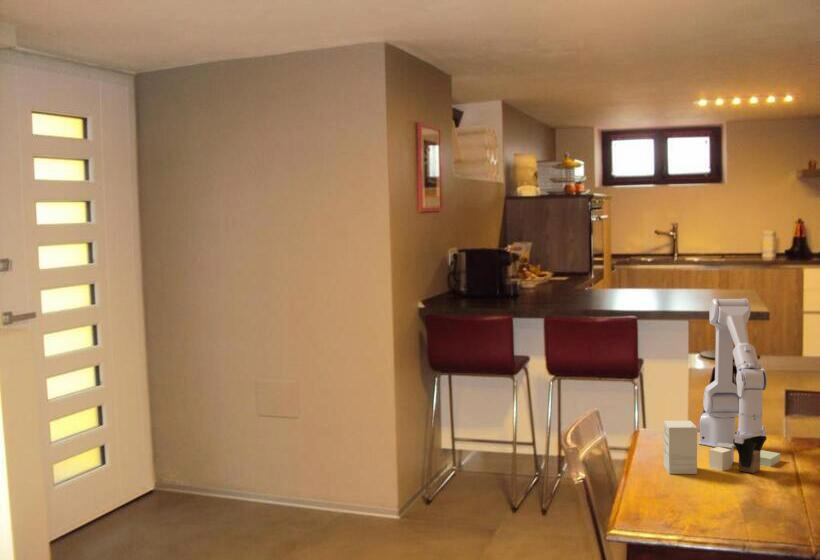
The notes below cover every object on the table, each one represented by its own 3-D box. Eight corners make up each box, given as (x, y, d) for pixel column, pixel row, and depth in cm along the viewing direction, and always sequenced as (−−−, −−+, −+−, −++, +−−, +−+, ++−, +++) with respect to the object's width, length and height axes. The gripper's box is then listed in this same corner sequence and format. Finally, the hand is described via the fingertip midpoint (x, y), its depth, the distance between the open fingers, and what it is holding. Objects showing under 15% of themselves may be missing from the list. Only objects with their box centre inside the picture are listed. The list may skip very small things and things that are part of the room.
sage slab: (744, 463, 235) (744, 454, 235) (754, 457, 240) (754, 448, 240) (770, 468, 230) (770, 459, 230) (780, 462, 235) (780, 453, 235)
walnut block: (738, 470, 227) (738, 451, 226) (744, 466, 230) (745, 448, 229) (753, 473, 224) (754, 454, 223) (759, 469, 227) (760, 451, 226)
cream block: (709, 467, 231) (709, 449, 230) (718, 464, 233) (718, 446, 232) (722, 471, 227) (722, 452, 227) (731, 468, 230) (731, 450, 229)
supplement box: (690, 466, 232) (691, 420, 231) (697, 474, 224) (698, 427, 223) (662, 465, 233) (663, 419, 231) (668, 474, 225) (668, 426, 224)
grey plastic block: (715, 464, 234) (715, 445, 233) (718, 460, 237) (718, 442, 237) (731, 466, 232) (731, 447, 231) (733, 462, 235) (733, 444, 235)
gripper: (754, 421, 217) (753, 474, 219) (776, 411, 228) (775, 461, 229) (727, 417, 222) (726, 468, 223) (750, 407, 233) (749, 456, 234)
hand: (749, 464), depth 227 cm, fingers closed on walnut block, 4 cm apart
